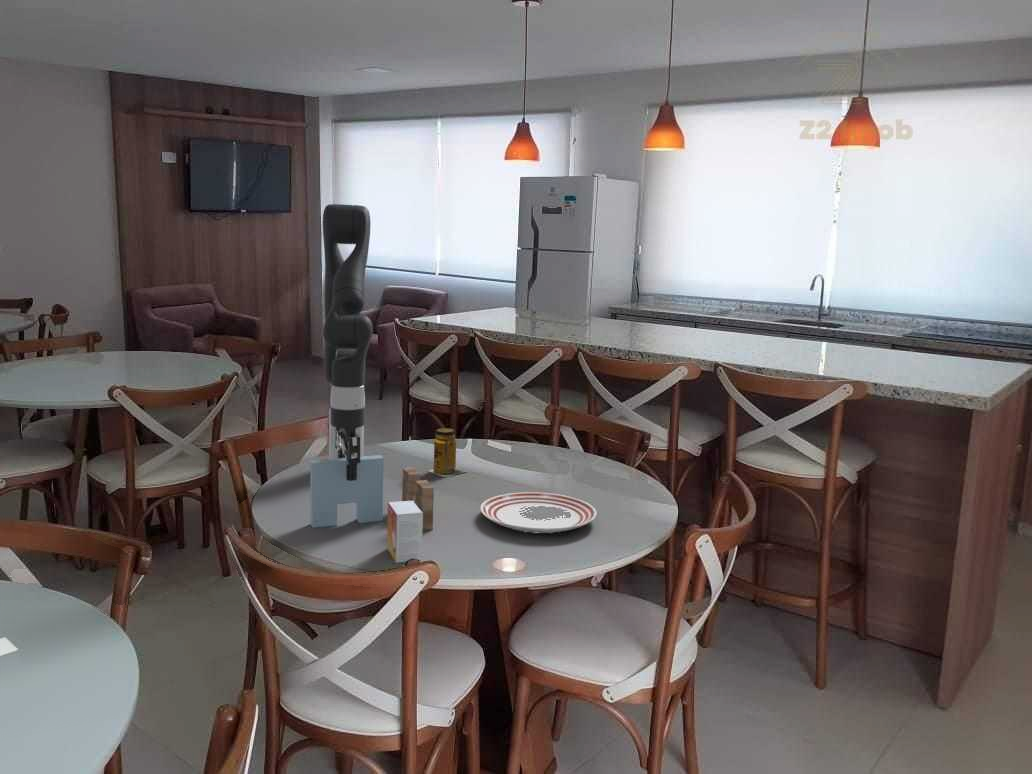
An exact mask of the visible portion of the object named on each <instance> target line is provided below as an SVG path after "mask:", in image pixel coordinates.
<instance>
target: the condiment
mask: <svg viewBox="0 0 1032 774" xmlns="http://www.w3.org/2000/svg"><path fill="white" fill-rule="evenodd" d="M456 462H457V440H456V431H455V430H454V429H453V428H447V427H446V428H445V427H444V428H443V427H441V428H438V429H436V430H435V438H434V441H433V469H431V470H427V472H429V473H432V474H434V475H437V476H440V477H442V478H444V477H450V476H455V475H459V474H463V473H467V472H468V471H467V470H464V469H460V468H457V466H456V464H457V463H456Z"/></svg>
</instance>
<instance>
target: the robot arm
mask: <svg viewBox="0 0 1032 774" xmlns="http://www.w3.org/2000/svg"><path fill="white" fill-rule="evenodd" d="M370 214H371V213H370V211H369V209H368V207H366V206H364V205H358V204H354V205H353V204H343V203H342V204H341V203H340V204H338V203H337V204H336V203H333V204H332V203H331V204H327V205H325V207H324V209H323V214H322V235H323V249H324V292H323V293H324V295H323V296H324V300H323V301H324V302H323V303H324V319H325V321H324V325H323V329H322V331H323V332H322V334H323V339H324V353H323V375H324V378H325V380H326V382H327V383H330V384H331V388H330V397H329V401H328V407H329V408H328V411H329V412H328V420H329V422H328V426H329V427H328V429H329V430H328V431H329V432H328V459H333V458H346V479H347V480H348V481H354V480H356V479H357V464H358V463H360V461H361V460H360V457H361V456H365V455H364V449H365V448H364V445H365V443H364V442H365V441H364V439H365V438H364V437H365V436H364V435H365V430H364V429H365V417H366V416H365V415H366V413H365V412H366V393H365V380H366V379H365V376H366V358H367V353H368V351H369V350H368V349H369V347H370V344H371V341H372V337H373V334H374V333H373V332H374V327H373V326H374V325H373V323H372V320H371V319H370V318H369V317H368V316H367V315H362V314H361V312H362V311H363V309H364V308H365V307H364V306H365V276H366V268H367V263H368V255H369V250H370V249H369V248H370V241H371V240H370V239H371V215H370ZM338 244H339V245H340V244H341V245H355V246H354V248H353V250H352V251H351V253H350V254H349V255H348V257H346V259H345V260H344V258H343V257H342V253H341V251H340V249H339V245H338ZM351 457H354V458H351Z"/></svg>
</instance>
